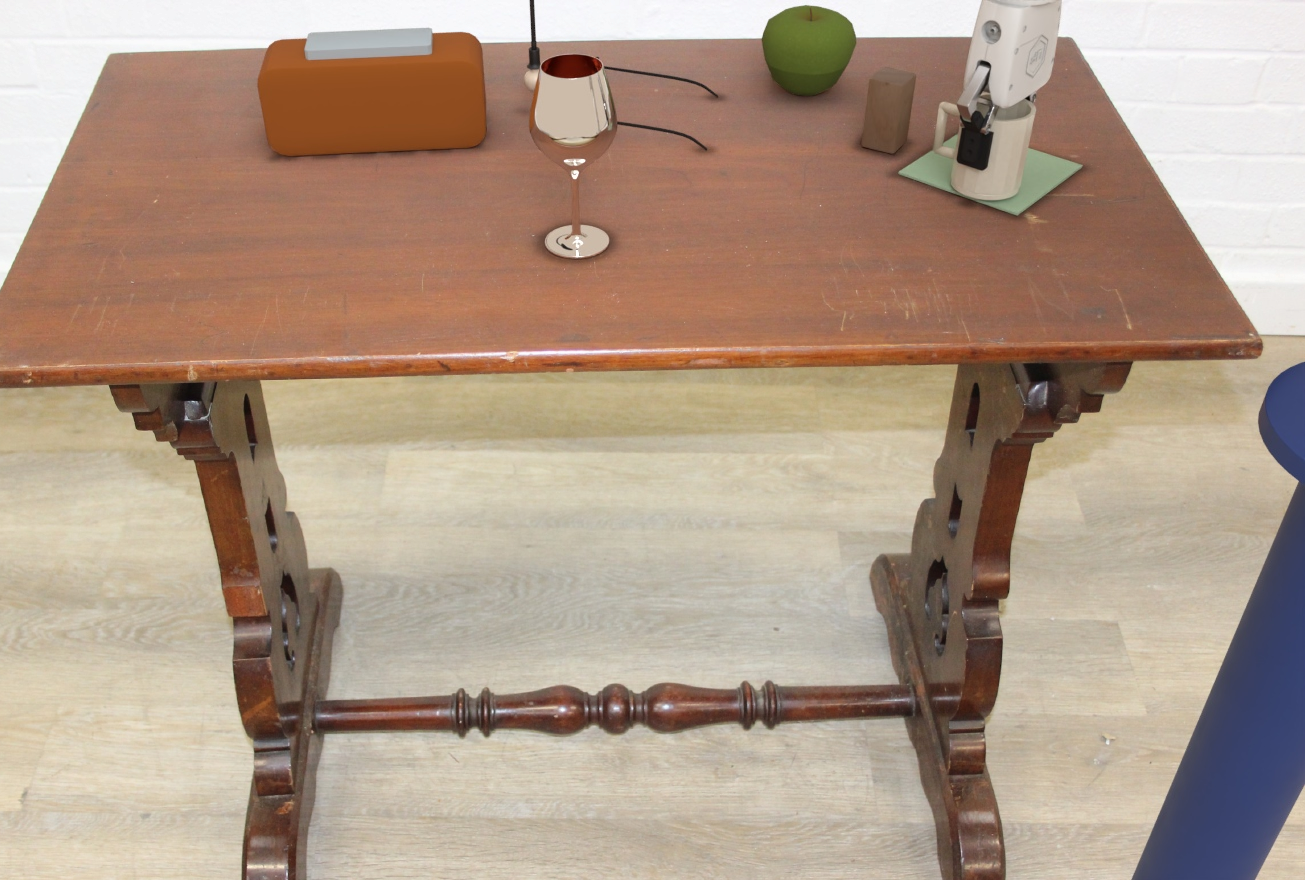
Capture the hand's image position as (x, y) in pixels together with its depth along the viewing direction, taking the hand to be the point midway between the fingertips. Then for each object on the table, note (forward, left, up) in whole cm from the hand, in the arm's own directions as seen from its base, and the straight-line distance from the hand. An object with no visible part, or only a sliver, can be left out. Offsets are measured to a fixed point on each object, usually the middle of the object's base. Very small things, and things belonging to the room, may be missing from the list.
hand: (991, 151), depth 136 cm
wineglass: (+25, +36, -5) cm, 44 cm away
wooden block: (+14, -2, -5) cm, 15 cm away
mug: (+2, 0, -4) cm, 4 cm away
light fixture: (+50, +16, -5) cm, 52 cm away
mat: (+2, -4, -4) cm, 6 cm away
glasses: (+38, +10, -5) cm, 39 cm away
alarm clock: (+58, +33, -5) cm, 66 cm away
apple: (+29, -8, -5) cm, 30 cm away
